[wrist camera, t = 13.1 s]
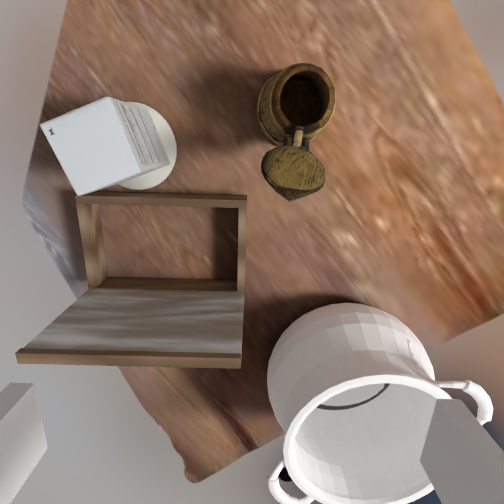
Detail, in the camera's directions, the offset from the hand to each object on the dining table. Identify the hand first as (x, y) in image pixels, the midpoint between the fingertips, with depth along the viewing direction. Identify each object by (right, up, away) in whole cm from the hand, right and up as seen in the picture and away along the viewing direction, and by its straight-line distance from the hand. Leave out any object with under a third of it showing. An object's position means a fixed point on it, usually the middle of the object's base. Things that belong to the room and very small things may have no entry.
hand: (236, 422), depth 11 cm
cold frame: (-11, +7, +36) cm, 39 cm away
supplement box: (-15, +20, +32) cm, 40 cm away
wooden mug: (+5, +22, +32) cm, 39 cm away
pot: (+15, -12, +43) cm, 48 cm away
